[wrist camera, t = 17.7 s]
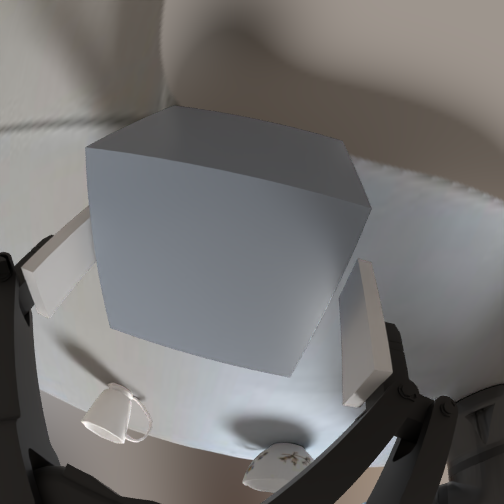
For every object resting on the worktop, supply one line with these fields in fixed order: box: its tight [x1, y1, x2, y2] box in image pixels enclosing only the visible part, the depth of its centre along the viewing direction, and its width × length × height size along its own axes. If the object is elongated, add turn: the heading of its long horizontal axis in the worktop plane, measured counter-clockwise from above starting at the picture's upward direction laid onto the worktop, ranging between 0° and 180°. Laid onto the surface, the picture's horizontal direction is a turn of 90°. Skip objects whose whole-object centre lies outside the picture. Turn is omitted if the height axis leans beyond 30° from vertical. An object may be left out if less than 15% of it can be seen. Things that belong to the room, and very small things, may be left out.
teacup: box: [243, 443, 314, 493], centre depth 41 cm, size 15×12×8 cm
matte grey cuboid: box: [85, 106, 372, 377], centre depth 16 cm, size 10×10×9 cm
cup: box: [81, 383, 152, 443], centre depth 38 cm, size 7×10×8 cm
